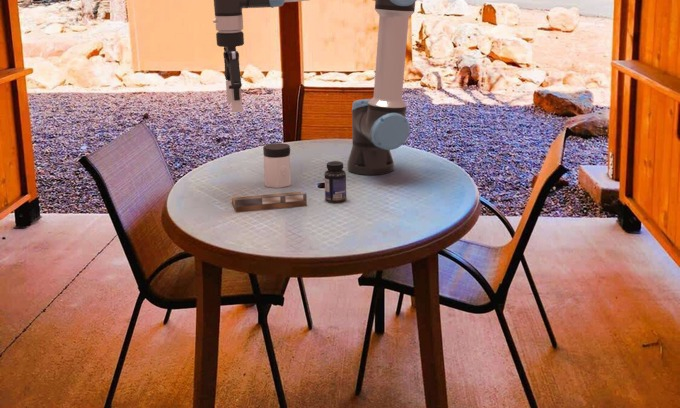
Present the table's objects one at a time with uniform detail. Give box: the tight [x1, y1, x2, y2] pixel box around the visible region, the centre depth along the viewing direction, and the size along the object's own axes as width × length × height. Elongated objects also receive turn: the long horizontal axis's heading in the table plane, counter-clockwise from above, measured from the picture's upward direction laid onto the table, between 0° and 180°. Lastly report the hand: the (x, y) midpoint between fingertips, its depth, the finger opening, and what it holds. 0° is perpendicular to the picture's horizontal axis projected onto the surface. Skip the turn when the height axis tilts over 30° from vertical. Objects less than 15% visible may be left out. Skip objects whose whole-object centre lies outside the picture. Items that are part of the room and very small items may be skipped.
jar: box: [262, 142, 292, 189], centre depth 239 cm, size 9×8×12 cm
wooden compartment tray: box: [231, 191, 308, 213], centre depth 221 cm, size 20×9×4 cm, turn 104°
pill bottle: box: [324, 160, 347, 204], centre depth 223 cm, size 6×6×11 cm
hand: (234, 107), depth 223 cm, fingers open, 13 cm apart
